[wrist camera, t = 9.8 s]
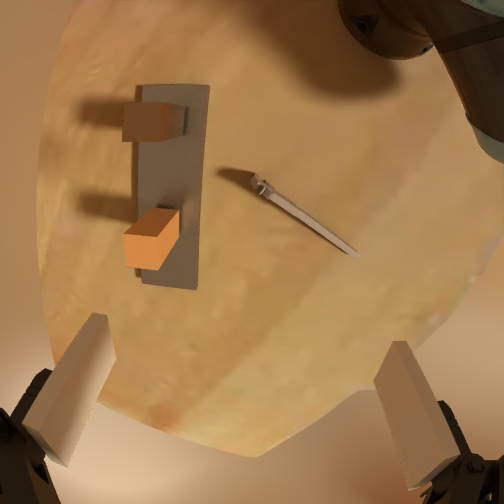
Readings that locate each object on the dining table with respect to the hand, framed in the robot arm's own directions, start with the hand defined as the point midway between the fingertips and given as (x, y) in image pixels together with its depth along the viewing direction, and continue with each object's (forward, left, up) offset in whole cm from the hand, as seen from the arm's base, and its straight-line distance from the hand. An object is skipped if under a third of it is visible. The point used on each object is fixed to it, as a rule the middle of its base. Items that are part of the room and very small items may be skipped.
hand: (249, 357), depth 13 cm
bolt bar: (+12, +1, -32) cm, 34 cm away
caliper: (-8, +3, -32) cm, 33 cm away
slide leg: (+12, +5, -30) cm, 32 cm away
